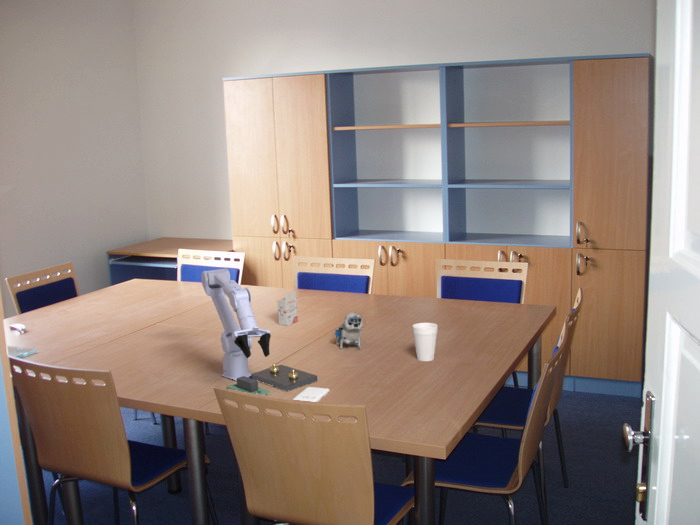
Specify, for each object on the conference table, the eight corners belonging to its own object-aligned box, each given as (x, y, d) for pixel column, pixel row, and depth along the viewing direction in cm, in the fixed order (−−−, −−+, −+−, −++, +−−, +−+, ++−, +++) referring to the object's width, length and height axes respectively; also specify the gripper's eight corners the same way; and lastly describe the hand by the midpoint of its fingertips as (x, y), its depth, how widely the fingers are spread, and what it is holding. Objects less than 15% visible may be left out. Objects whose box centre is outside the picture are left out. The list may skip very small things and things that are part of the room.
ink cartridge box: (289, 320, 349) (288, 289, 346) (298, 321, 346) (296, 290, 343) (278, 324, 342) (276, 293, 339) (286, 325, 339) (285, 294, 336)
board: (226, 390, 256) (225, 377, 255) (243, 384, 261) (242, 372, 260) (253, 400, 246) (252, 387, 245) (269, 394, 250) (268, 381, 250)
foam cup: (410, 361, 281) (409, 328, 278) (417, 354, 289) (416, 321, 287) (434, 363, 277) (433, 329, 275) (440, 356, 286) (440, 323, 283)
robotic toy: (340, 353, 293) (339, 317, 291) (332, 342, 310) (331, 307, 307) (372, 350, 296) (370, 314, 293) (362, 339, 313) (361, 304, 310)
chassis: (251, 379, 266) (250, 365, 266) (281, 369, 276) (280, 356, 275) (286, 391, 252) (286, 377, 252) (317, 381, 262) (316, 367, 261)
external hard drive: (329, 393, 251) (314, 406, 240) (307, 391, 254) (291, 403, 243) (329, 388, 251) (314, 401, 239) (307, 386, 254) (291, 398, 242)
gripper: (234, 315, 249) (246, 351, 243) (270, 314, 258) (281, 349, 253) (224, 325, 253) (235, 361, 247) (259, 324, 263) (271, 358, 257)
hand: (258, 356), depth 250 cm, fingers open, 7 cm apart
